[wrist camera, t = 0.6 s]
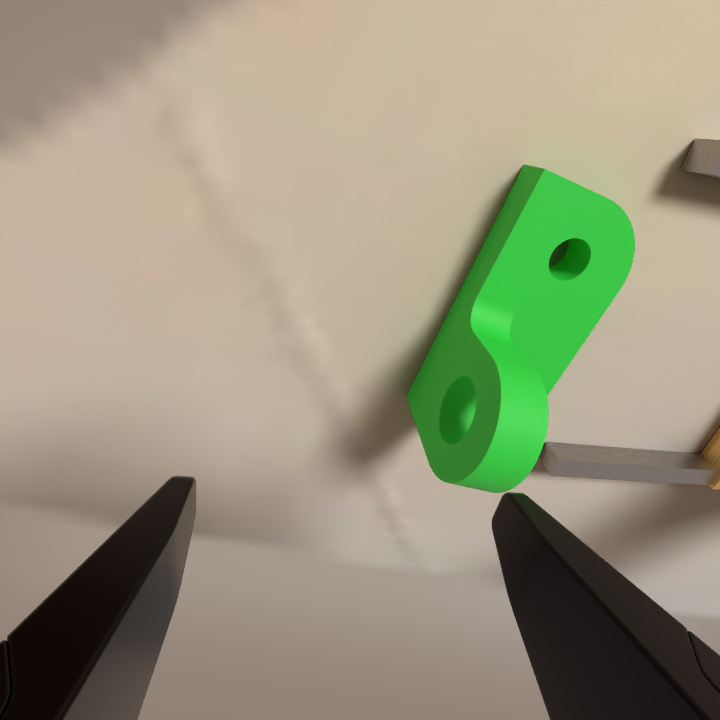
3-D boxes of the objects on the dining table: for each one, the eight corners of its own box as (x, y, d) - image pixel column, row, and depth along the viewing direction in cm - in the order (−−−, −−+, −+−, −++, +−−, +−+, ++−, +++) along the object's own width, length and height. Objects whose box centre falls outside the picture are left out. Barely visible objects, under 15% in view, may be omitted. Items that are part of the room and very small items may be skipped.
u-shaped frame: (914, 188, 20) (966, 195, 18) (705, 469, 28) (729, 490, 26) (695, 138, 18) (732, 140, 16) (539, 457, 26) (553, 479, 24)
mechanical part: (500, 420, 24) (575, 540, 18) (405, 394, 23) (446, 514, 16) (632, 214, 19) (813, 269, 12) (521, 163, 18) (657, 194, 11)
